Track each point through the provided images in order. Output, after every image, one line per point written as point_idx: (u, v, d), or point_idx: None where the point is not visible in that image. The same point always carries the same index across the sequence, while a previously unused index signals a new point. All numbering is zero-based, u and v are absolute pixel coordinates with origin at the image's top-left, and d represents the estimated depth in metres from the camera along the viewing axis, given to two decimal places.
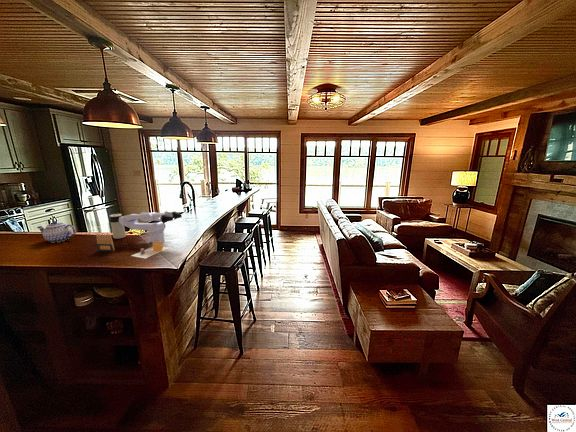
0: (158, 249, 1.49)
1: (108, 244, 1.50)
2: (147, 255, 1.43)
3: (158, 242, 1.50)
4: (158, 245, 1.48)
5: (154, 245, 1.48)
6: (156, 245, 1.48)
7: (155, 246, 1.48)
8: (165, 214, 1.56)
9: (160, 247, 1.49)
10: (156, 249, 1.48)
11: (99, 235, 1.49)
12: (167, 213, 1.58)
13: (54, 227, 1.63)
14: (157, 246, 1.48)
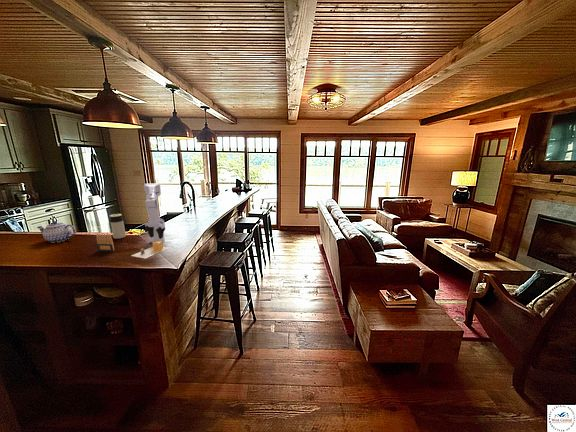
0: (158, 249, 1.49)
1: (108, 244, 1.50)
2: (147, 255, 1.43)
3: (158, 242, 1.50)
4: (158, 245, 1.48)
5: (154, 245, 1.48)
6: (156, 245, 1.48)
7: (155, 246, 1.48)
8: None
9: (160, 247, 1.49)
10: (156, 249, 1.48)
11: (99, 235, 1.49)
12: (152, 226, 1.45)
13: (54, 227, 1.63)
14: (157, 246, 1.48)
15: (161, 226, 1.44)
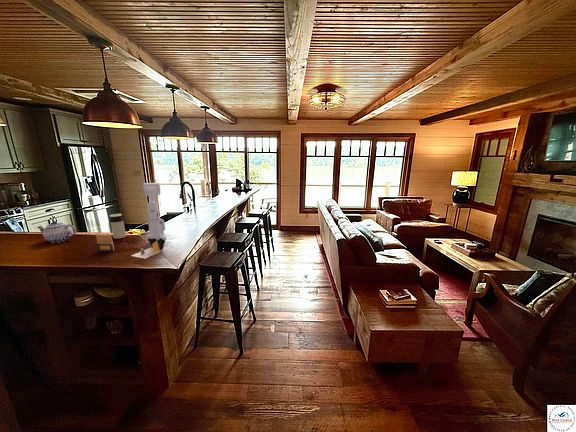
0: (158, 249, 1.49)
1: (108, 244, 1.50)
2: (147, 255, 1.43)
3: None
4: (158, 245, 1.48)
5: (154, 245, 1.48)
6: (156, 245, 1.48)
7: (155, 246, 1.48)
8: None
9: None
10: (156, 249, 1.48)
11: (99, 235, 1.49)
12: (153, 238, 1.46)
13: (54, 227, 1.63)
14: (157, 246, 1.48)
15: (163, 238, 1.46)
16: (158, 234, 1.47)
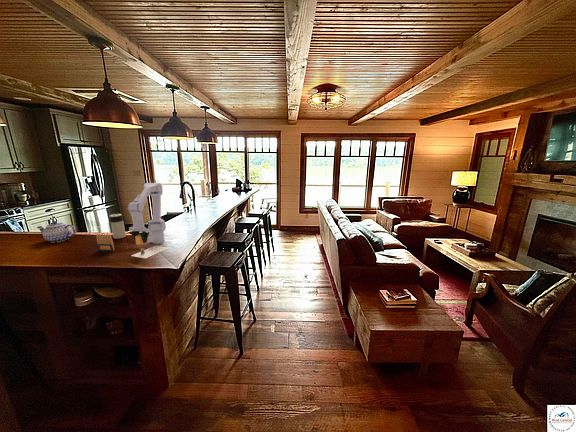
0: (141, 242, 1.41)
1: (108, 244, 1.50)
2: (147, 255, 1.43)
3: None
4: (141, 238, 1.40)
5: (137, 238, 1.40)
6: (139, 238, 1.40)
7: (138, 239, 1.40)
8: None
9: None
10: (139, 242, 1.40)
11: (99, 235, 1.49)
12: (136, 230, 1.39)
13: (54, 227, 1.63)
14: (140, 239, 1.40)
15: (146, 230, 1.38)
16: (141, 226, 1.39)
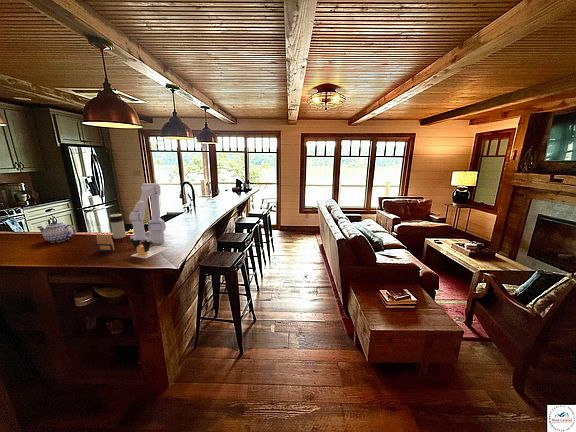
0: (142, 253, 1.43)
1: (108, 244, 1.50)
2: (147, 255, 1.43)
3: None
4: (142, 249, 1.42)
5: (138, 249, 1.41)
6: (140, 249, 1.41)
7: (139, 250, 1.41)
8: None
9: None
10: (140, 253, 1.42)
11: (99, 235, 1.49)
12: (137, 239, 1.40)
13: (54, 227, 1.63)
14: (141, 250, 1.42)
15: (147, 239, 1.39)
16: (142, 235, 1.41)
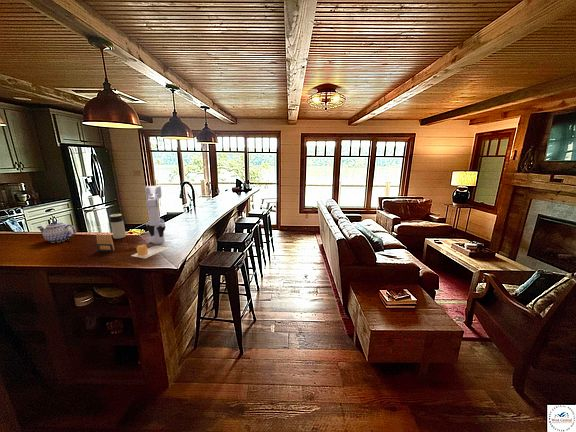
0: (142, 253, 1.43)
1: (108, 244, 1.50)
2: (147, 255, 1.43)
3: (143, 246, 1.44)
4: (142, 249, 1.42)
5: (138, 249, 1.41)
6: (140, 249, 1.41)
7: (139, 250, 1.41)
8: None
9: (145, 251, 1.43)
10: (140, 253, 1.42)
11: (99, 235, 1.49)
12: (152, 225, 1.49)
13: (54, 227, 1.63)
14: (141, 250, 1.42)
15: (161, 225, 1.48)
16: (157, 221, 1.50)
